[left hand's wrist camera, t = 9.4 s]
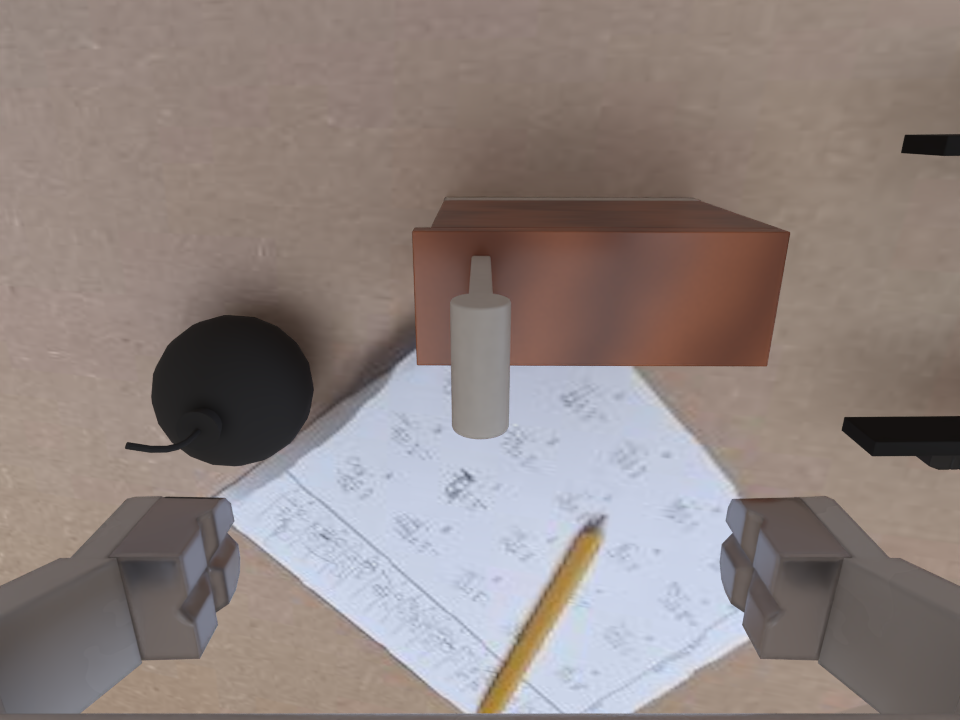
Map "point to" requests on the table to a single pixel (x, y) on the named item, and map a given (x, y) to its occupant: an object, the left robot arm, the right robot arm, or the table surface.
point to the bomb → (230, 391)
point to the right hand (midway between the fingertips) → (886, 302)
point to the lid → (588, 303)
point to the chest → (586, 213)
